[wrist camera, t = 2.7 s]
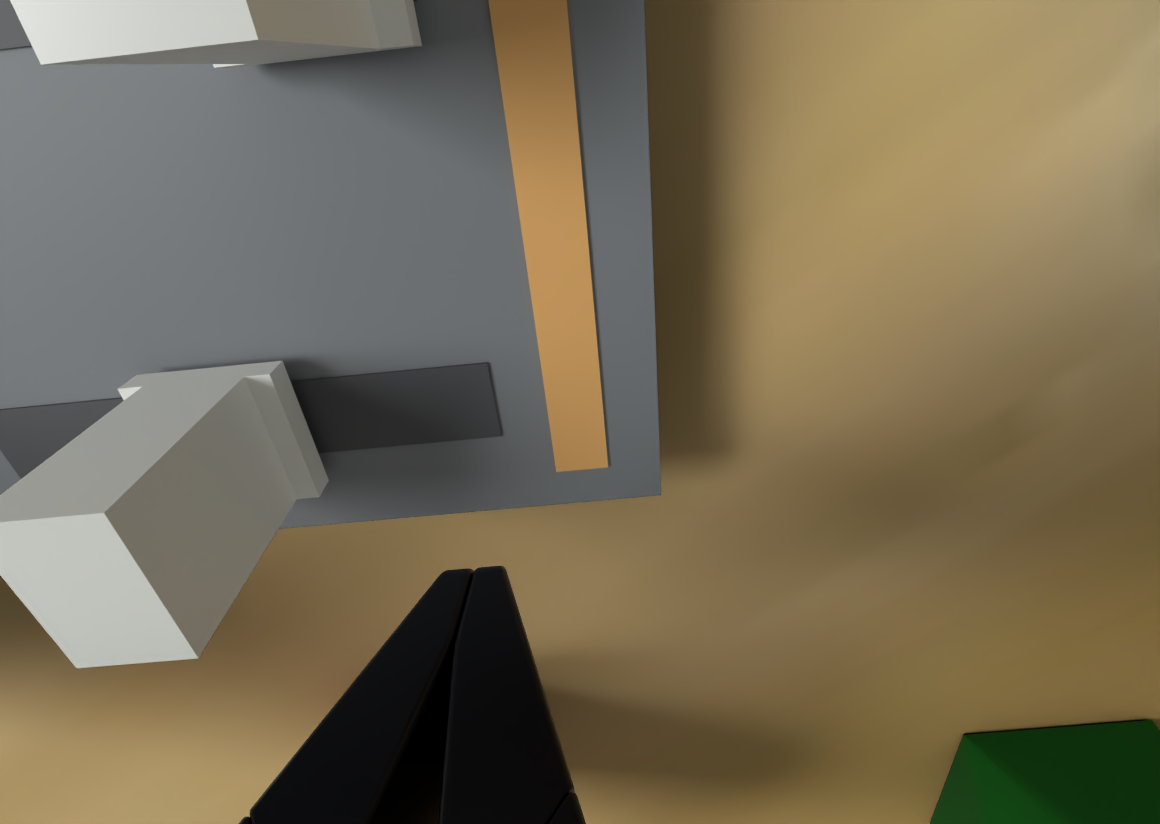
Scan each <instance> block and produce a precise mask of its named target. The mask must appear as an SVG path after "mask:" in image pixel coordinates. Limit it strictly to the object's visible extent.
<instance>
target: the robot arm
mask: <svg viewBox="0 0 1160 824" xmlns="http://www.w3.org/2000/svg"><path fill="white" fill-rule="evenodd" d="M239 824H586V823H585V819H584V816H583V813H582V810H581V807H580V803H579V800H578V797H577V795H576V793H575V791H574V786H573V782H572V779H571V776H570V773H569V770H568V766H567V763H566V760H565V757H564V754H563V750H562V747H561V744H560V741H559V738H558V734H557V731H556V728H555V725H554V722H553V718H552V715H551V712H550V709H549V706H548V703H547V699H546V696H545V693H544V690H543V687H542V683H541V680H540V677H539V674H538V671H537V667H536V664H535V661H534V658H533V655H532V651H531V648H530V645H529V642H528V639H527V635H526V632H525V629H524V626H523V623H522V619H521V616H520V613H519V610H518V607H517V604H516V600H515V597H514V594H513V591H512V588H511V584H510V581H509V578H508V575H507V572H506V569H505V568H504V567H503V566H492V567H481V568H477V569H476V570H475V571H474V570H472V569H458V570H447V571H444V572H443V573H442V574H441V575H440V576H439V577H438V578H437V579H436V581H435V582H434V583H433V584H432V586H431V587H430V588H429V589H428V590H427V592H426V593H425V594H424V595H423V597H422V598H421V599H420V600H419V602H418V603H417V604H416V605H415V607H414V608H413V609H412V610H411V612H410V613H409V614H408V615H407V616H406V618H405V619H404V620H403V621H402V623H401V624H400V625H399V626H398V628H397V629H396V630H395V631H394V633H393V634H392V635H391V636H390V637H389V639H388V640H387V641H386V642H385V644H384V645H383V646H382V647H381V649H380V650H379V651H378V652H377V654H376V655H375V656H374V657H373V659H372V660H371V661H370V662H369V663H368V665H367V666H366V667H365V668H364V670H363V671H362V672H361V673H360V675H359V676H358V677H357V678H356V680H355V681H354V682H353V683H352V684H351V686H350V687H349V688H348V689H347V691H346V692H345V693H344V694H343V696H342V697H341V698H340V699H339V701H338V702H337V703H336V704H335V706H334V707H333V708H332V709H331V710H330V712H329V713H328V714H327V715H326V717H325V718H324V719H323V720H322V722H321V723H320V724H319V725H318V727H317V728H316V729H315V730H314V731H313V733H312V734H311V735H310V736H309V738H308V739H307V740H306V741H305V743H304V744H303V745H302V746H301V748H300V749H299V750H298V751H297V753H296V754H295V755H294V756H293V757H292V759H291V760H290V761H289V762H288V764H287V765H286V766H285V767H284V769H283V770H282V771H281V772H280V774H279V775H278V776H277V777H276V779H275V780H274V781H273V782H272V783H271V785H270V786H269V787H268V788H267V790H266V791H265V792H264V793H263V795H262V796H261V797H260V798H259V800H258V801H257V802H256V803H255V804H254V806H253V807H252V808H251V810H250V817H244V818H243V819H242V820H241V821H240V823H239Z"/></svg>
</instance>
